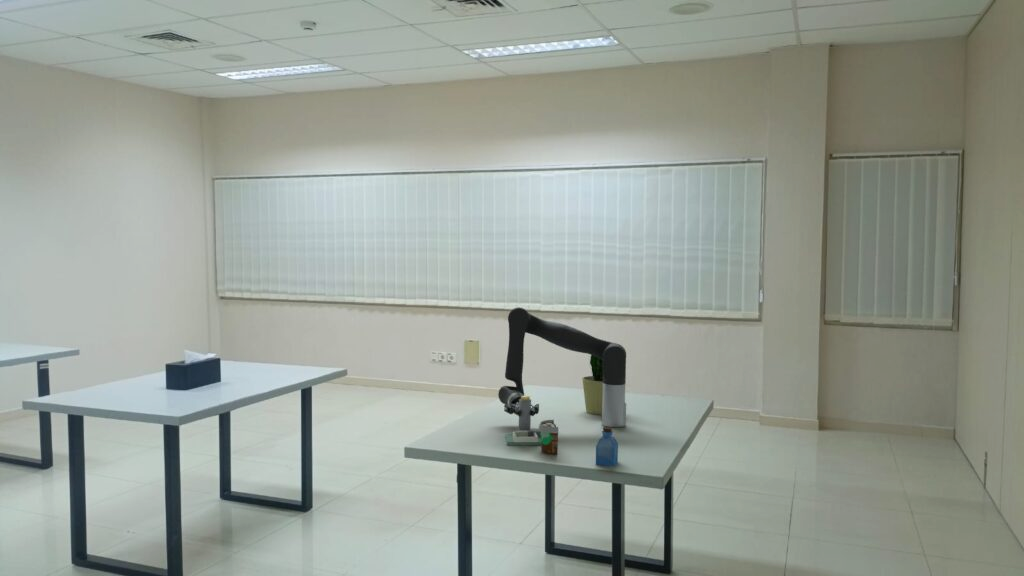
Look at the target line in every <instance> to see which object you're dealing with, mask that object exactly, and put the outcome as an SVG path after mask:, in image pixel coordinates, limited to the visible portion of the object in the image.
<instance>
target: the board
mask: <svg viewBox="0 0 1024 576" xmlns="http://www.w3.org/2000/svg"><path fill="white" fill-rule="evenodd" d="M504 439H505V443H506V444H505V445H506V446H541V432H540V430H539V428H530V430H528V431H512V433H504Z"/></svg>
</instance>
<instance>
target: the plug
mask: <svg viewBox="0 0 1024 576" xmlns="http://www.w3.org/2000/svg"><path fill="white" fill-rule="evenodd" d="M531 404H532V399H531V398H530V396H529V395H524V396H521V399H519V409H520V411H521V416H518V430H519V431H521V432H527V431H528V430H530V429H531V420H532V419H531V418H532V416H531Z"/></svg>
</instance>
